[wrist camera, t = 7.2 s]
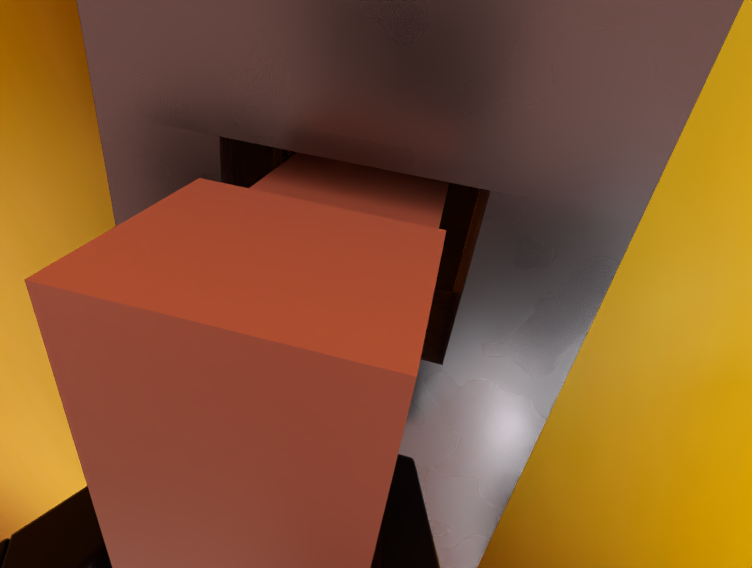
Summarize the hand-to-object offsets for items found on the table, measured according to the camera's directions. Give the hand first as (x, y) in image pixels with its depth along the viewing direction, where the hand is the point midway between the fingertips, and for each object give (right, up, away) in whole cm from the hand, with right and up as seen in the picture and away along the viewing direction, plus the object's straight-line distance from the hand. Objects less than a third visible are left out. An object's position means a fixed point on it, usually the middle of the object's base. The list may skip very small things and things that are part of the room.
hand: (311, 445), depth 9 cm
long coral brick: (+1, +1, +2) cm, 3 cm away
